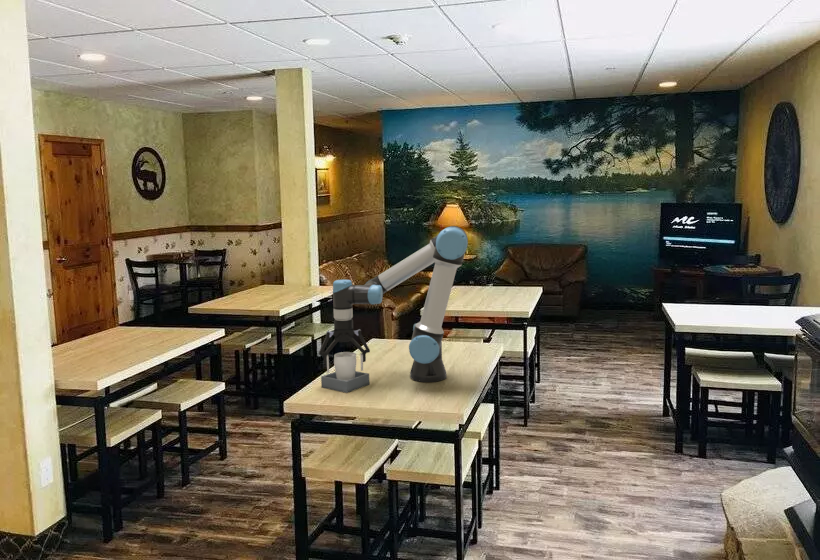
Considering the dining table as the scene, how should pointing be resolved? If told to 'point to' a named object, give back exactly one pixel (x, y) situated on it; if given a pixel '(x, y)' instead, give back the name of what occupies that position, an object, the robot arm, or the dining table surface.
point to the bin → (345, 382)
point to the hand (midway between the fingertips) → (345, 370)
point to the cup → (345, 365)
